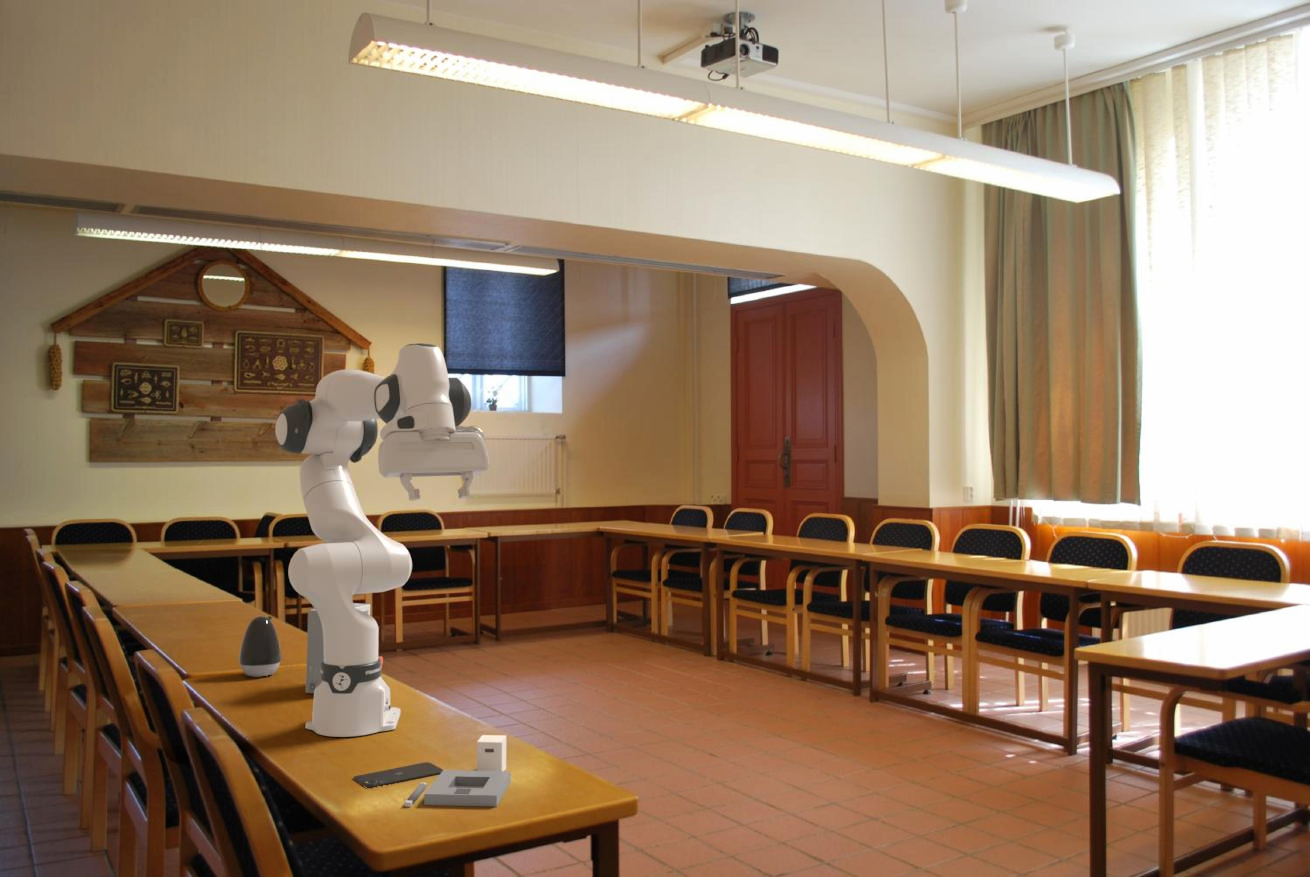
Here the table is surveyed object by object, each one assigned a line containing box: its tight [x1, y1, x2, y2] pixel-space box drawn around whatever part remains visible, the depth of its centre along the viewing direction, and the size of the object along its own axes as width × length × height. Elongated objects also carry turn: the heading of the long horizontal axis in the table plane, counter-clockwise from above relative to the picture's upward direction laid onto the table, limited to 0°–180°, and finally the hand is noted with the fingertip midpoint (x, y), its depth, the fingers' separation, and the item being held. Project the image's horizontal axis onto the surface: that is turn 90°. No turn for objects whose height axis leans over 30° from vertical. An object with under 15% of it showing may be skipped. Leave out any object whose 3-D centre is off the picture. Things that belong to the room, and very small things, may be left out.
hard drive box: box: [305, 602, 371, 695], centre depth 254 cm, size 16×8×20 cm, turn 161°
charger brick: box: [476, 734, 507, 771], centre depth 190 cm, size 5×4×6 cm
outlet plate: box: [423, 769, 512, 807], centre depth 178 cm, size 13×12×2 cm
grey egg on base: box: [238, 615, 282, 678], centre depth 268 cm, size 10×10×15 cm
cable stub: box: [404, 782, 428, 808], centre depth 176 cm, size 10×1×1 cm, turn 178°
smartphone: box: [352, 761, 444, 789], centre depth 187 cm, size 7×1×15 cm
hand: (440, 498), depth 188 cm, fingers open, 8 cm apart
